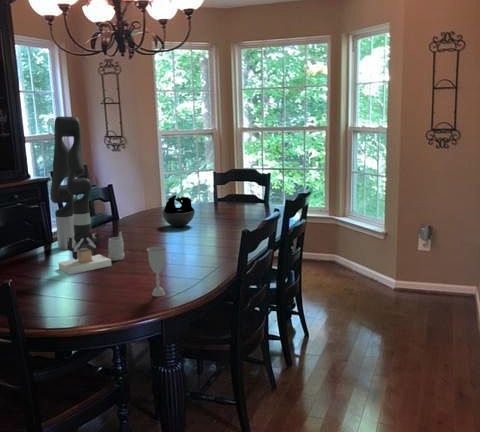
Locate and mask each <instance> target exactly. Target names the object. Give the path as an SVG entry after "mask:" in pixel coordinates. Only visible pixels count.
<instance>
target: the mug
mask: <svg viewBox="0 0 480 432" xmlns="http://www.w3.org/2000/svg"><path fill="white" fill-rule="evenodd" d="M122 235H123V234H122V231H118V237H117V236H116V237H115V236H113V237H111V238H108V245H107V248H108V254H107V258H109V259H111V261H113V262H114V261H116V262H117V261H121V260H124V258H125V256H126V255H125V252H124V250H125V249H124V247H125V244H124V238H123V236H122Z"/></svg>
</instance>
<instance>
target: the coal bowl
mask: <svg viewBox="0 0 480 432" xmlns="http://www.w3.org/2000/svg"><path fill="white" fill-rule="evenodd" d="M176 201H177V202H179V204H180V205H181V206H179V207H177V206H176V204H175V203H176ZM195 212H196V211H195V208H193V205H192V199H191V198H189V197H187V196H180V197H177V194H174V195H172V196H171V197H169V198H168V199H167V202H166V203H165V206H164V209H163V210H162V211H161V214H162V217H163V219H164V221H165V222H166V223H167V224H168V225H170V226H172V227H175V228H176V227H177V228H180V227H185V226H187V225H188V224H190V223H191V222H192V220H193V219H194V216H195V214H196V213H195Z"/></svg>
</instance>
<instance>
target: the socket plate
mask: <svg viewBox="0 0 480 432" xmlns="http://www.w3.org/2000/svg"><path fill="white" fill-rule="evenodd" d="M57 265H58V269H59V270H60V271H62V272H64V273H65V274H67V275H74V274H80V273H85V272H90V271H94V270H98V269H103V268H108V267H112V260H111V259H109V257H108V256H104V255H102V254H96V255H95V256H92V262H87V263H82V264H81V263H79V262H78V258H77V260H75V259H74V258H73V259H69V260H65V261H59V262H58V264H57Z"/></svg>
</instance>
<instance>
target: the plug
mask: <svg viewBox="0 0 480 432" xmlns="http://www.w3.org/2000/svg"><path fill="white" fill-rule="evenodd" d="M76 252H77V259H78V262H79V263H81V264H82V263H87V262H92V251H91V249H90V248H87V247H83V248H79V249H77V250H76Z"/></svg>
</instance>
